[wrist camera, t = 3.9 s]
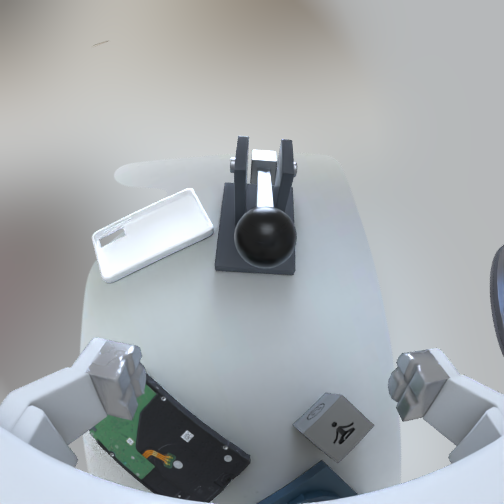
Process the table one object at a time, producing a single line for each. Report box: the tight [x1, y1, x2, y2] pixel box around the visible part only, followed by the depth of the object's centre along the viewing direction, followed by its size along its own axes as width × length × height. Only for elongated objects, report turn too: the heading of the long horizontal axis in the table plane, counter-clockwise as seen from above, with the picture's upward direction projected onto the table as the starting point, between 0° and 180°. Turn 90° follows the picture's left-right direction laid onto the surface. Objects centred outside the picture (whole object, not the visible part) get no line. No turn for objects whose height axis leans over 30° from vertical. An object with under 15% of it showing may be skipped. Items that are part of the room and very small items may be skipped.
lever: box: [234, 150, 297, 268], centre depth 20 cm, size 14×4×4 cm, turn 178°
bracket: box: [215, 136, 297, 275], centre depth 29 cm, size 12×9×13 cm
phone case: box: [92, 189, 214, 283], centre depth 33 cm, size 7×1×15 cm
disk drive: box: [89, 373, 250, 503], centre depth 21 cm, size 10×3×15 cm
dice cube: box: [293, 393, 374, 463], centre depth 22 cm, size 5×5×5 cm
